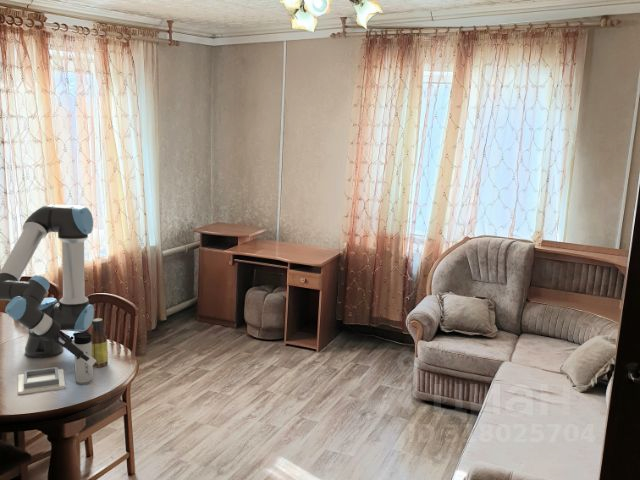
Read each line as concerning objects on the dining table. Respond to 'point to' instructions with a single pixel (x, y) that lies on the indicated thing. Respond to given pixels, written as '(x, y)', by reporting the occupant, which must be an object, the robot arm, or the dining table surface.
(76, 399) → the dining table surface
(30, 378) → the mug tray
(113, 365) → the dining table surface
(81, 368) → the travel mug
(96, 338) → the sauce bottle
